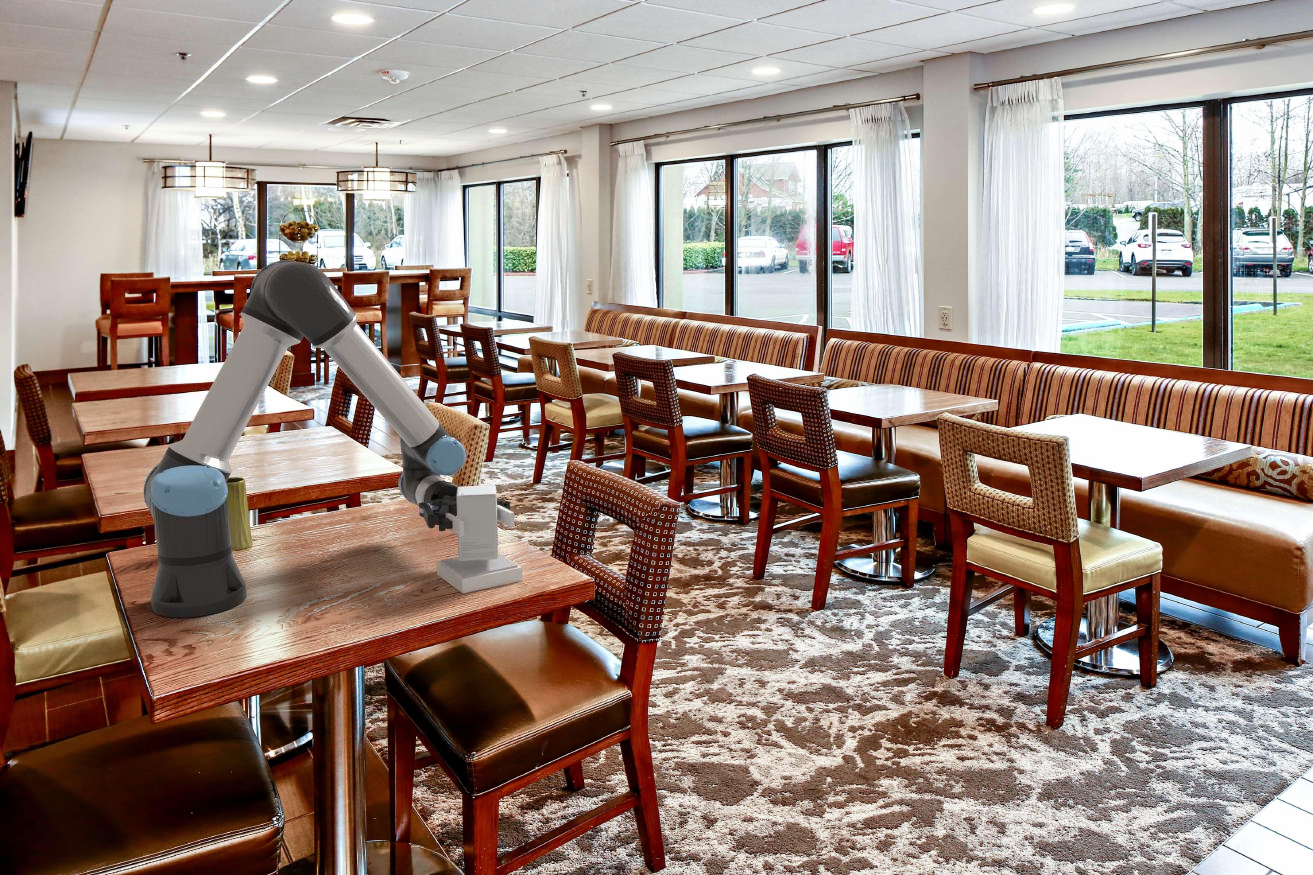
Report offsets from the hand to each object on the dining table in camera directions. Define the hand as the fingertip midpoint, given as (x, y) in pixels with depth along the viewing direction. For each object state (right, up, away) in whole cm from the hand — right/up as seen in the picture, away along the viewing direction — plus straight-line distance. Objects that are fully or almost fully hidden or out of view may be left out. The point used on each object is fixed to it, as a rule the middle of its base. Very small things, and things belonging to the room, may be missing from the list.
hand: (487, 524), depth 173 cm
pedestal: (-3, -11, +6) cm, 12 cm away
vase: (-57, -7, +24) cm, 62 cm away
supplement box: (-3, -6, +5) cm, 8 cm away
